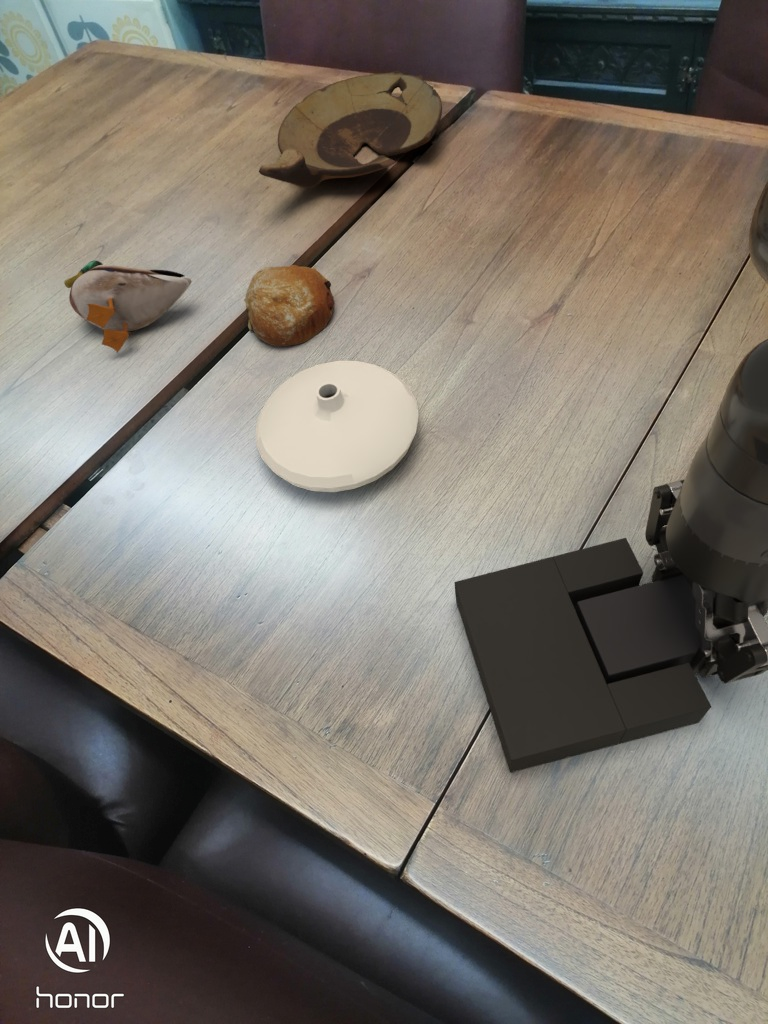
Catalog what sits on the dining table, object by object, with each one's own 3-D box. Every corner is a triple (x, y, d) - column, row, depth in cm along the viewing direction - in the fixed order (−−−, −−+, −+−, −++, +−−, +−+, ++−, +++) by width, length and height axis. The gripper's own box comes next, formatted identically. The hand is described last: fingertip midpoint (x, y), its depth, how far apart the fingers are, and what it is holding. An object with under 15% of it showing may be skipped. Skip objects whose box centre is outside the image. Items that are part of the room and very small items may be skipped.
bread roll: (259, 329, 84) (214, 292, 78) (318, 268, 83) (278, 225, 76) (293, 376, 79) (248, 341, 73) (357, 312, 77) (317, 270, 71)
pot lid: (319, 365, 75) (305, 313, 69) (449, 410, 69) (446, 358, 63) (232, 471, 68) (208, 424, 62) (367, 531, 62) (355, 485, 56)
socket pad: (619, 559, 57) (626, 537, 54) (699, 722, 49) (712, 707, 46) (455, 601, 57) (454, 581, 54) (509, 772, 49) (511, 760, 46)
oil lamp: (481, 147, 94) (480, 88, 88) (291, 241, 88) (276, 184, 81) (391, 92, 106) (385, 35, 99) (218, 170, 99) (200, 116, 93)
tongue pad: (693, 589, 55) (704, 568, 52) (730, 658, 52) (745, 639, 49) (572, 621, 55) (577, 601, 52) (602, 692, 51) (609, 675, 49)
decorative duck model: (48, 247, 82) (167, 206, 83) (81, 301, 88) (193, 262, 89) (45, 314, 73) (180, 267, 73) (83, 369, 79) (208, 325, 79)
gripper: (896, 596, 35) (780, 704, 49) (749, 398, 43) (685, 538, 57) (754, 633, 35) (678, 731, 49) (634, 427, 43) (598, 561, 57)
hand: (682, 627), depth 53 cm, fingers closed on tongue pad, 6 cm apart
